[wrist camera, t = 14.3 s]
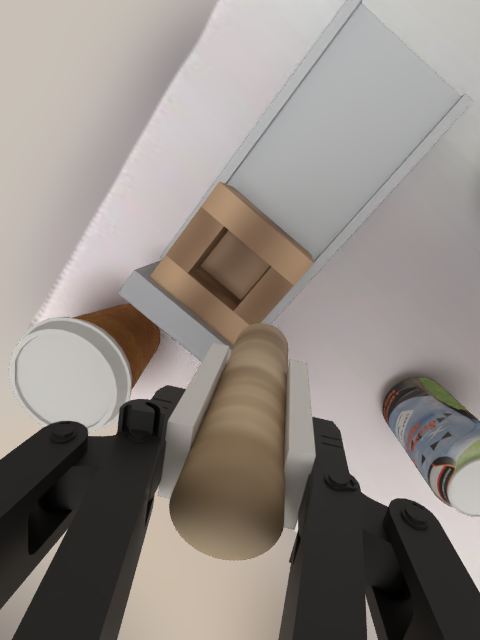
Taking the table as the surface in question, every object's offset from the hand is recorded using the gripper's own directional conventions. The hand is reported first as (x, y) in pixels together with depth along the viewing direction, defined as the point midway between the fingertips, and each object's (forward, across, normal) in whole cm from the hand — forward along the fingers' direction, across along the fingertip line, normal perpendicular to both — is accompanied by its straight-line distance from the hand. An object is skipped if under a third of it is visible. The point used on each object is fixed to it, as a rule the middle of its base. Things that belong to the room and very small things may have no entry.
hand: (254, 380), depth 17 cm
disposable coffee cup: (+20, +14, +8) cm, 25 cm away
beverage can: (+19, -16, +8) cm, 26 cm away
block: (+18, +4, -2) cm, 19 cm away
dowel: (+4, 0, 0) cm, 4 cm away
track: (+19, 0, -8) cm, 21 cm away
